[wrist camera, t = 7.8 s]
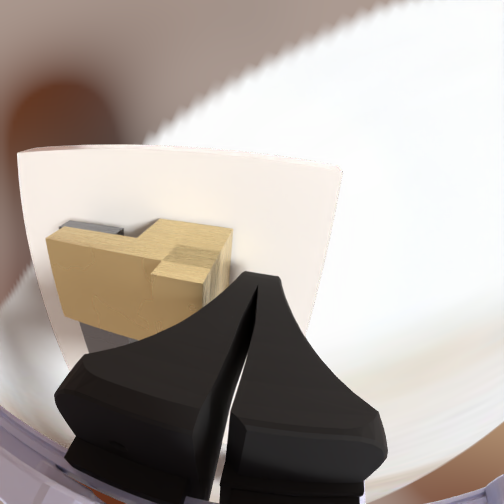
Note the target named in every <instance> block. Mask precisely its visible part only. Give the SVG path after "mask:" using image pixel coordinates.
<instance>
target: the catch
mask: <svg viewBox="0 0 504 504" xmlns="http://www.w3.org/2000/svg"><path fill="white" fill-rule="evenodd" d="M45 239H46V245H47V250H48V255H49V260H50V264H51V269H52V273H53V277H54V281H55V285H56V289H57V293H58V296H59V300H60V304H61V307H62V310H63V314H64V316H65V317H68V318H71V319H73V320H76V321H79V322H82V323H85V324H88V325H91V326H94V327H97V328H100V329H103V330H106V331H109V332H112V333H116V334H119V335H122V336H126V337H129V338H132V339H136V340H141V339H144V338H147V337H150V336H152V335H154V334H157V333H159V332H161V331H163V330H165V329H167V328H170V327H172V326H174V325H176V324H178V323H179V322H181V321H183V320H185V319H186V318H188V317H190V316H191V315H193V314H194V313H196V312H197V311H199V310H200V309H201V308H203V307H204V306H205V305H207V304H208V303H209V302H211V301H212V300H213V299H215V298H216V297H217V296H218V295H219V294H220V293H222V292H223V291H224V290H225V289H226V288H227V287H228V286H229V278H230V265H231V252H232V239H233V229H232V228H225V227H218V226H211V225H204V224H196V223H189V222H182V221H174V220H167V219H159V220H158V221H157V222H155V223H154V224H153V225H152V226H151V227H149V228H148V229H147V230H146V231H145V232H143V233H142V234H141V235H140V236H139V237H137V238H134V237H128V236H122V235H115V234H109V233H103V232H97V231H91V230H84V229H78V228H72V227H66V226H64V227H62V228H61V229H59V230H58V231H56V232H54V233H53V234H51V235H50V236H48V237H46V238H45Z"/></svg>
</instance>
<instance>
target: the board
mask: <svg viewBox="0 0 504 504" xmlns="http://www.w3.org/2000/svg"><path fill="white" fill-rule="evenodd" d="M17 159H18V173H19V184H20V193H21V201H22V208H23V215H24V221H25V227H26V233H27V238H28V243H29V248H30V252H31V257H32V261H33V265H34V269H35V273H36V277H37V281H38V284H39V288H40V291H41V295H42V298H43V301H44V305H45V308H46V311H47V314H48V317H49V320H50V323H51V326H52V328H53V331H54V334H55V336H56V339H57V342H58V344H59V347H60V349H61V352H62V354H63V357H64V359H65V361H66V364H67V366H68V368H69V371H71V370H72V368H73V367H74V365H75V364H76V363H77V362H78V361H79V360H80V358H81V357H82V356H83V355H84V354H88V353H89V352H88V349H87V346H86V342H85V339H84V336H83V333H82V330H81V326H80V323H79V321H76V320H73V319H71V318H68V317H65V316H64V314H63V310H62V307H61V304H60V300H59V296H58V293H57V289H56V285H55V281H54V277H53V273H52V269H51V264H50V260H49V255H48V250H47V245H46V239H45V238H46V237H48V236H50V235H51V234H53V233H54V232H56V231H58V230H59V226H61V225H62V224H64V223H66V222H68V221H69V220H72V221H79V222H85V223H92V224H99V225H106V226H113V227H119V228H124V236H128V237H134V238H137V237H139V236H140V235H141V234H142V233H143V232H145V231H146V230H147V229H148V228H149V227H151V226H152V225H153V224H154V223H155V222H157V221H158V220H159V219H167V220H174V221H182V222H189V223H196V224H204V225H211V226H218V227H225V228H232V229H233V239H232V252H231V265H230V278H229V285H230V284H231V283H232V282H233V281H235V279H236V278H237V277H238V276H239V275H240V274H241V273H243V272H244V271H249V272H255V273H261V274H267V275H273V276H279V277H280V279H281V282H282V287H283V291H284V294H285V297H286V299H287V302H288V304H289V307H290V309H291V311H292V314H293V316H294V318H295V320H296V322H297V323H298V325H299V327H300V329H301V331H302V333H303V334H304V336H306V332H307V329H308V325H309V322H310V318H311V314H312V310H313V306H314V303H315V299H316V295H317V291H318V287H319V283H320V279H321V274H322V270H323V266H324V262H325V257H326V253H327V249H328V244H329V239H330V235H331V230H332V225H333V220H334V216H335V211H336V206H337V200H338V195H339V190H340V184H341V179H342V173H343V171H342V170H341V169H340V168H339V167H338V165H333V164H328V163H322V162H316V161H310V160H304V159H297V158H291V157H284V156H276V155H269V154H261V153H252V152H243V151H233V150H223V149H211V148H198V147H182V146H161V145H73V146H53V147H40V148H33V149H29V150H26V151H22V152H19V153H17ZM138 341H139V340H138ZM246 358H247V357H246ZM245 362H246V360H245ZM244 365H245V363H244ZM243 369H244V366H243ZM243 369H242V372H243ZM242 372H241V374H240V377H239V380H238V383H237V386H236V389H235V392H234V395H233V399H232V402H231V406H230V410H229V415H228V419H227V423H226V428H225V432H224V436H223V441H222V443H223V444H227V440H228V430H229V420H230V411H231V408H232V405H233V402H234V398H235V395H236V392H237V389H238V386H239V382H240V379H241V376H242Z"/></svg>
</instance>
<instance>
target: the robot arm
mask: <svg viewBox="0 0 504 504" xmlns="http://www.w3.org/2000/svg"><path fill="white" fill-rule="evenodd" d="M246 357H247V358H246ZM245 360H246V362H245ZM244 363H245V365H244ZM243 366H244V369H243ZM242 369H243V372H242ZM241 372H242V376H241V379H240V382H239V386H238V389H237V392H236V395H235V398H234V402H233V405H232V408H231V411H230V420H229V430H228V440H227V451H226V460H225V465H224V469H223V473H222V477H221V481H220V486H221V487H220V503H219V504H365V479H366V478H367V477H369V476H370V475H371V474H372V473H373V472H374V471H375V470H376V469H378V468H379V467H380V466H381V464H382V463H383V462H384V461H385V459H386V458H387V453H388V449H387V441H386V436H385V432H384V428H383V425H382V421H381V418H380V415H379V412H378V411H377V410H375V409H374V408H373V407H372V406H370V405H369V404H368V403H366V402H365V401H364V400H362V399H361V398H360V397H359V396H357V395H356V394H355V393H353V392H352V391H351V390H350V389H349V388H348V387H347V386H346V385H345V384H344V383H343V382H342V381H340V380H339V379H338V378H337V377H336V376H335V375H334V373H333V372H332V371H331V370H330V369H329V368H328V367H327V366H326V364H325V363H324V362H323V361H322V360H321V359H320V357H319V356H318V355H317V353H316V352H315V351H314V349H313V348H312V347H311V345H310V344H309V342H308V341H307V339H306V337H305V336H304V334H303V333H302V331H301V329H300V327H299V325H298V323H297V322H296V320H295V318H294V316H293V314H292V311H291V309H290V307H289V304H288V302H287V299H286V297H285V294H284V291H283V287H282V282H281V279H280V277H279V276H273V275H267V274H261V273H255V272H249V271H244V272H243V273H241V274H240V275H239V276H238V277H237V278H236V279H235V281H233V282H232V283H231V284H230V285H229V286H228V287H227V288H226V289H225V290H224V291H223V292H222V293H220V294H219V295H218V296H217V297H216V298H215V299H213V300H212V301H211V302H209V303H208V304H207V305H205V306H204V307H203V308H201V309H200V310H199V311H197V312H196V313H194V314H193V315H191V316H190V317H188V318H186V319H185V320H183V321H181V322H179V323H178V324H176V325H174V326H172V327H170V328H167V329H165V330H163V331H161V332H159V333H157V334H154V335H152V336H150V337H147V338H144V339H141V340H139V341H136V342H133V343H129V344H126V345H123V346H119V347H116V348H111V349H107V350H103V351H98V352H93V353H88V354H84V355H83V356H82V357H81V358H80V360H79V361H78V362H77V363H76V364H75V365H74V367H73V368H72V370H71V371H70V372H69V374H68V375H67V377H66V378H65V379H64V381H63V382H62V384H61V385H60V386H59V388H58V389H57V391H56V392H55V394H54V397H55V403H56V406H57V408H58V410H59V412H60V413H61V415H62V416H63V418H64V419H65V421H66V422H67V424H68V425H69V427H70V428H71V430H72V431H73V432H74V434H75V435H76V437H75V439H74V441H73V442H72V444H71V446H70V448H69V449H67V448H65V447H63V446H61V445H60V444H58V443H56V442H54V441H53V440H51V439H49V438H48V437H46V436H44V435H43V434H41V433H39V432H38V431H36V430H35V429H33V428H32V427H30V426H29V425H27V424H26V423H24V422H23V421H21V420H20V419H18V418H17V417H16V416H14V415H13V414H11V413H10V412H9V411H7V410H6V409H5V408H3V407H2V406H1V405H0V500H1V501H2V502H3V503H4V504H106V503H104V502H103V501H102V500H100V499H99V498H98V497H96V496H95V495H94V493H93V492H92V491H91V490H90V489H88V488H87V487H85V486H83V485H81V484H80V483H78V482H77V481H79V482H81V483H83V484H85V485H87V486H89V487H91V488H93V489H95V490H97V491H99V492H101V493H103V494H106V495H108V496H110V497H112V498H115V499H117V500H119V501H122V502H124V503H127V504H218V503H214V502H209V498H210V494H211V489H212V485H213V480H214V476H215V471H216V467H217V463H218V458H219V454H220V449H221V445H222V441H223V436H224V432H225V428H226V423H227V419H228V415H229V410H230V406H231V402H232V399H233V395H234V392H235V389H236V386H237V383H238V380H239V377H240V374H241ZM67 475H68V476H67ZM69 476H70V477H72V478H73V479H72V478H70V477H69ZM74 479H75V480H77V481H75V480H74ZM427 504H504V474H503V475H501V476H499V477H497V478H496V479H495V480H493V481H492V482H490V483H489V484H488V485H487V486H486V487H484V488H481V489H478V490H475V491H472V492H469V493H466V494H462V495H459V496H456V497H452V498H448V499H444V500H440V501H436V502H431V503H427Z"/></svg>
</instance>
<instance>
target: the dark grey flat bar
mask: <svg viewBox="0 0 504 504" xmlns="http://www.w3.org/2000/svg"><path fill="white" fill-rule="evenodd" d="M64 226H66V227H72V228H78V229H84V230H91V231H97V232H103V233H109V234H115V235H122V236H124V228H119V227H113V226H106V225H99V224H92V223H85V222H79V221H72V220H69V221H68V222H66V223H64V224H62V225H61V226H59V229H61V228H62V227H64ZM79 323H80V326H81V330H82V333H83V336H84V339H85V342H86V346H87V349H88V352H89V353H93V352H98V351H103V350H107V349H111V348H116V347H119V346H123V345H126V344H129V343H133V342H136V341H138V340H136V339H132V338H129V337H126V336H122V335H119V334H116V333H112V332H109V331H106V330H103V329H100V328H97V327H94V326H91V325H88V324H85V323H82V322H79Z"/></svg>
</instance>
